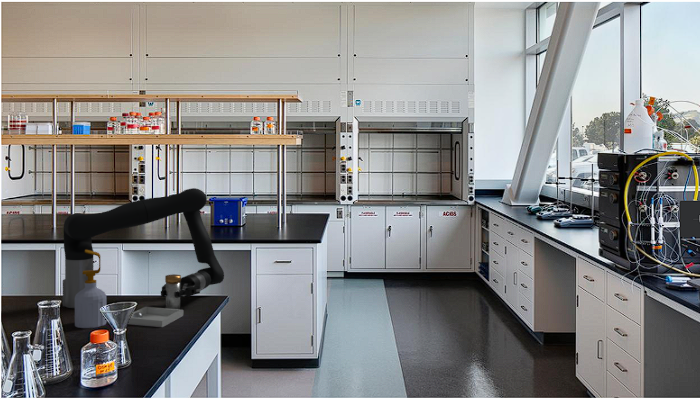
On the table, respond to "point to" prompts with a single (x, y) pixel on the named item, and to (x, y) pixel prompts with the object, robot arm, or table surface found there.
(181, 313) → the tray
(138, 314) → the ball
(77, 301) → the soap bottle
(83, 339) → the table surface
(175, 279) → the shaker
